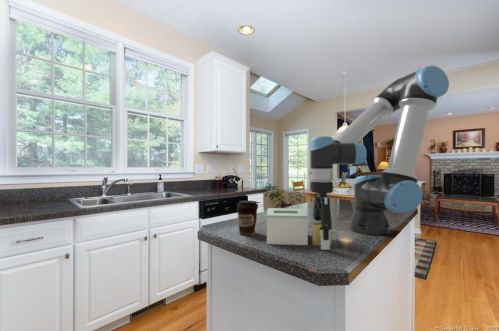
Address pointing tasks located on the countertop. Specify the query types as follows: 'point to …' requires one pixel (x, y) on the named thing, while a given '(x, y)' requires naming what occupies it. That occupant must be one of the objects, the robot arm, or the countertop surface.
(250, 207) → the coffee cup
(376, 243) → the countertop surface
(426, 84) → the robot arm
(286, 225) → the coin box
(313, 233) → the pale yellow block
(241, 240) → the countertop surface
